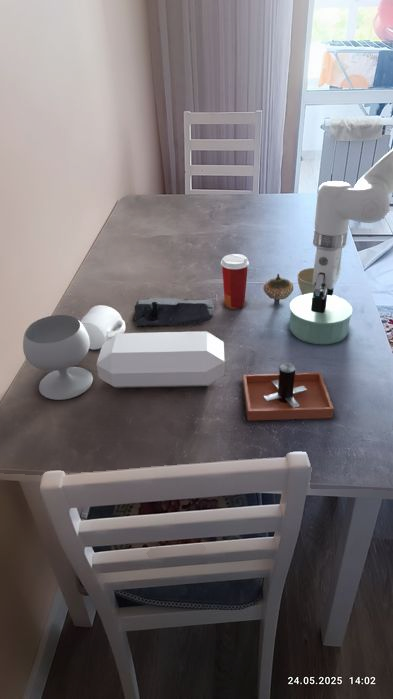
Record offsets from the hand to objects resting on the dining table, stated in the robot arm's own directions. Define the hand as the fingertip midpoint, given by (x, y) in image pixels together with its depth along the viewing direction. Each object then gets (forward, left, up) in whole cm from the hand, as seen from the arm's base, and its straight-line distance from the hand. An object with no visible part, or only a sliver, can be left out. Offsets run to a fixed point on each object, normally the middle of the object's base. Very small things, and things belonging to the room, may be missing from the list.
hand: (322, 302), depth 122 cm
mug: (+56, +2, -8) cm, 57 cm away
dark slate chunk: (+38, -10, -8) cm, 40 cm away
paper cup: (+21, -15, -8) cm, 27 cm away
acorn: (+9, -13, -8) cm, 18 cm away
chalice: (+62, +20, -8) cm, 66 cm away
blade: (+13, +28, -7) cm, 32 cm away
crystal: (+40, +18, -8) cm, 44 cm away
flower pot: (-2, -17, -8) cm, 19 cm away
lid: (0, 0, -2) cm, 2 cm away
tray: (+13, +28, -8) cm, 32 cm away
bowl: (0, 0, -8) cm, 8 cm away
